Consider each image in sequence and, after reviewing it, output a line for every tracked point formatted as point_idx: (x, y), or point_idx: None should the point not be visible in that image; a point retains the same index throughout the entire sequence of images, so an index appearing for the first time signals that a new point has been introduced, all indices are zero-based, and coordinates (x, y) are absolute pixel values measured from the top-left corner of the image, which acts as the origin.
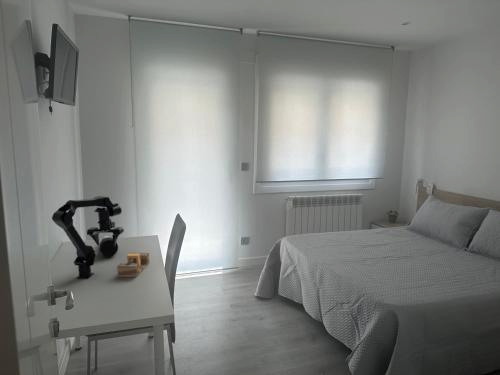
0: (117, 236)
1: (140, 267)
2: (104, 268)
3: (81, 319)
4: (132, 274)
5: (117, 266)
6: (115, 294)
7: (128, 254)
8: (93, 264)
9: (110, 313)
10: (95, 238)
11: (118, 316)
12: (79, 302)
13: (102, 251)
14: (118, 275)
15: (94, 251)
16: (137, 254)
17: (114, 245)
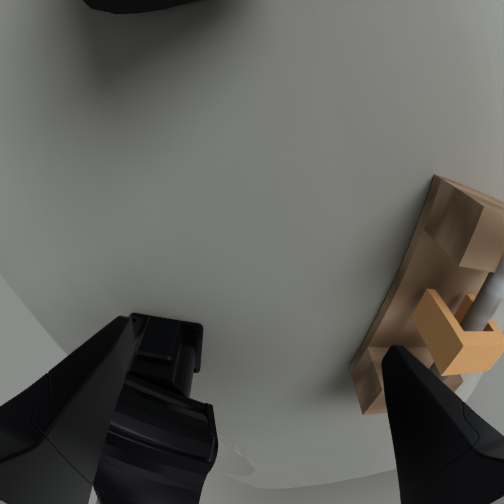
0: (487, 447)
1: (463, 297)
2: (240, 248)
3: (280, 483)
4: None
5: (363, 412)
6: (341, 443)
7: (455, 357)
8: (212, 405)
9: (332, 474)
10: (91, 481)
11: (347, 475)
12: (250, 461)
13: (122, 2)
14: (353, 372)
15: (207, 469)
16: (495, 356)
17: (389, 370)
